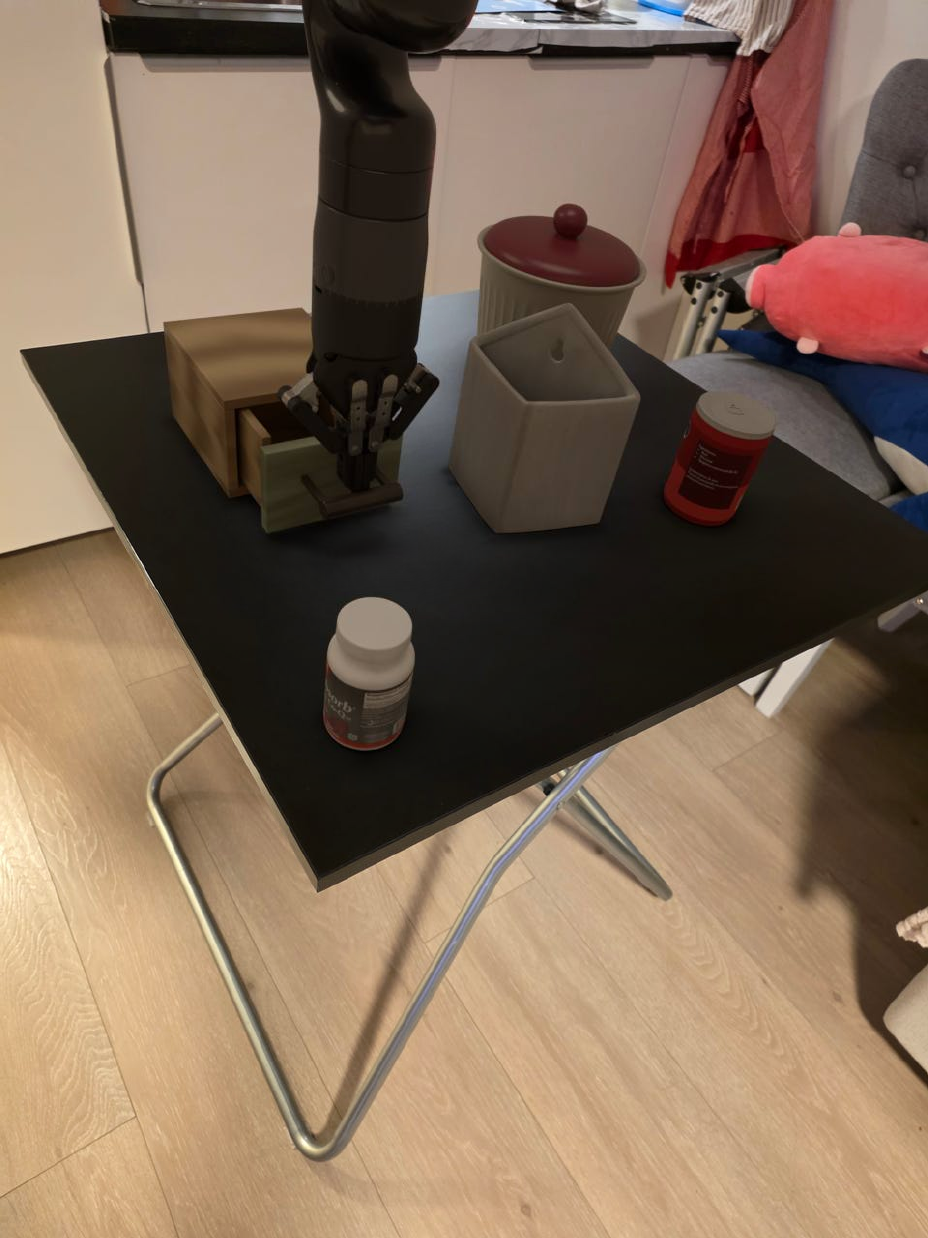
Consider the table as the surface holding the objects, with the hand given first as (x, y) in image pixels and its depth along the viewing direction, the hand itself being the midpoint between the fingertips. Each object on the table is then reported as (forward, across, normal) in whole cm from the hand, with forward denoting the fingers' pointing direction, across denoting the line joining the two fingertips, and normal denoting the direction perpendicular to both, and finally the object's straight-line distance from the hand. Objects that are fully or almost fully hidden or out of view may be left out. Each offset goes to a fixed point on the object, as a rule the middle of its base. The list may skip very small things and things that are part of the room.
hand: (355, 485), depth 66 cm
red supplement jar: (+7, -36, +8) cm, 38 cm away
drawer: (+6, 0, -7) cm, 9 cm away
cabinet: (+6, 0, -18) cm, 19 cm away
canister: (+7, -33, -17) cm, 38 cm away
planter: (+7, -16, +1) cm, 18 cm away
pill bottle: (+6, +8, +18) cm, 21 cm away
